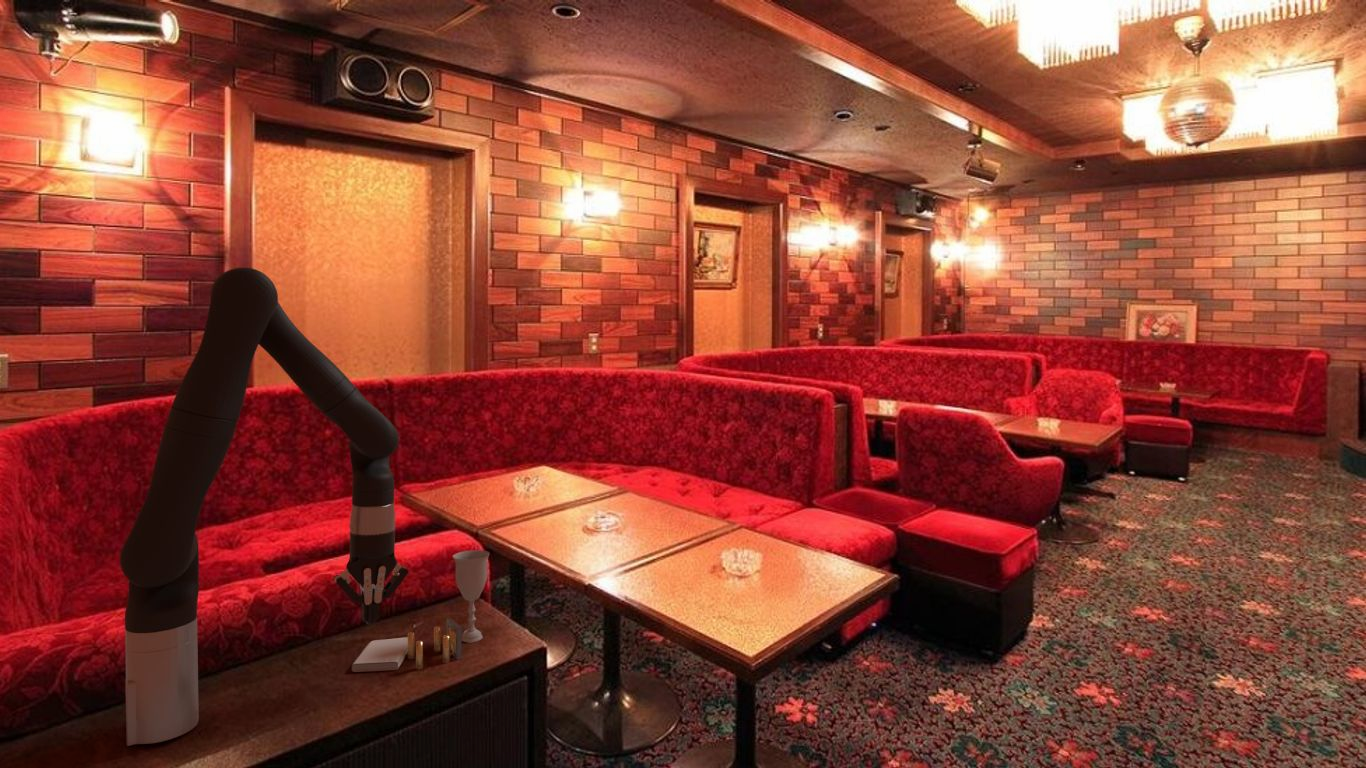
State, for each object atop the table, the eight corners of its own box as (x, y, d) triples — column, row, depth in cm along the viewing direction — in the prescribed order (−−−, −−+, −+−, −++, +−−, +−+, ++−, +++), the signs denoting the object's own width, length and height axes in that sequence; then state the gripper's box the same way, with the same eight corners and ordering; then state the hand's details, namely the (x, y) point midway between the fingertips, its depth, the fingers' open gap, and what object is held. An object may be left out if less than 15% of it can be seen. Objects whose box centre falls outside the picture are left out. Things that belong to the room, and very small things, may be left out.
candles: (417, 670, 132) (417, 637, 132) (406, 658, 137) (406, 626, 137) (462, 658, 138) (462, 627, 137) (451, 648, 143) (451, 617, 142)
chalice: (480, 633, 151) (480, 548, 150) (496, 642, 146) (496, 555, 145) (447, 642, 146) (446, 554, 145) (462, 652, 141) (461, 561, 140)
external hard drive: (398, 661, 132) (414, 636, 145) (351, 663, 131) (371, 638, 144) (398, 669, 132) (414, 644, 145) (351, 672, 131) (371, 646, 144)
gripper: (337, 536, 123) (336, 636, 123) (416, 528, 131) (414, 622, 131) (328, 528, 129) (326, 623, 129) (404, 520, 137) (402, 610, 137)
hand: (371, 622), depth 130 cm, fingers closed
